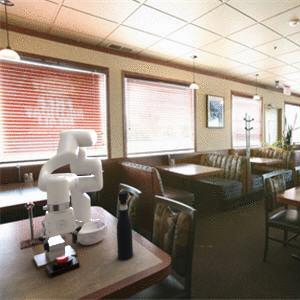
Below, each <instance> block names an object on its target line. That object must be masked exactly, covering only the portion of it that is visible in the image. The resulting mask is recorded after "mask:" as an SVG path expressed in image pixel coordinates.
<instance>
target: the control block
mask: <svg viewBox="0 0 300 300" xmlns="http://www.w3.org/2000/svg"><path fill="white" fill-rule="evenodd" d="M79 268H80V262H79V260H78V259H77V257H74V256H68V260H67V261H65V262H62V263H57V261H56V259H55V260H53V262H52V264H49V265H46V267H45V272H46V273H47V275H48V277H49V278H50V279H53V278H56V277H58V276H61V275H63V274H66V273H69V272H71V271H73V270H76V269H79Z"/></svg>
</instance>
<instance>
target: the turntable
mask: <svg viewBox="0 0 300 300" xmlns="http://www.w3.org/2000/svg"><path fill="white" fill-rule="evenodd" d="M65 254H67V255H68V256H74V257H75V258H77V257H78V254H77V252H76V251H75V249H73V248H72V247H71V245H65ZM32 257H33V262H34V264H35V266H36V268H37V269H38V270H42V269H46V265H49V264H52V262H53V261H50V260H49V258H48V257H47V255H46V253H45V252H43V253H40V254H37V255H33V256H32Z"/></svg>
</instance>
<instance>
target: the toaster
mask: <svg viewBox="0 0 300 300" xmlns="http://www.w3.org/2000/svg"><path fill="white" fill-rule="evenodd" d="M48 242H49V250H50V252H48V253H47V251H46V250H45V251H44V253H46V255H47V257H48V258H49V260H50V261H53V260H55V259H56V258H57V257H58V256H60V255H64V254H65V246H66V241H65V240H64V239H63V238H62V237H61V235H59V236H55V237H51V238H50V239H49V240H48Z"/></svg>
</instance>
